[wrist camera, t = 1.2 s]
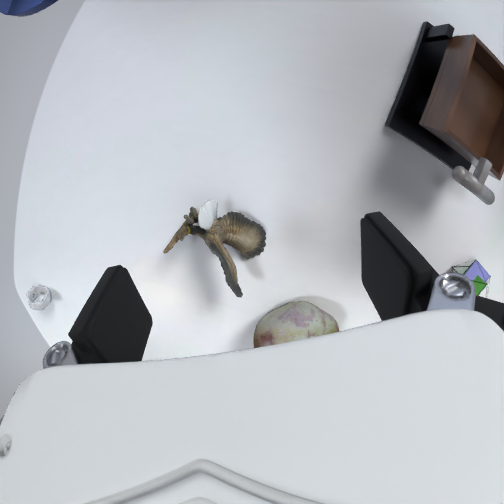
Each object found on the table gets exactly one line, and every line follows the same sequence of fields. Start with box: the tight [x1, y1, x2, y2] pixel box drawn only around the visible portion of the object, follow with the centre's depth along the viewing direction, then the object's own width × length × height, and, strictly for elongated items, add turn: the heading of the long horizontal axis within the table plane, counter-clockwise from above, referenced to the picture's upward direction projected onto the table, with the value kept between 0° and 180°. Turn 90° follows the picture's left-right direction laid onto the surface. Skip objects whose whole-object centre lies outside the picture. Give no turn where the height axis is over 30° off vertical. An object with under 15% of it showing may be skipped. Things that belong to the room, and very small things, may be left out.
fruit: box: [253, 301, 339, 348], centre depth 32 cm, size 10×9×12 cm
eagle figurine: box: [164, 200, 266, 297], centre depth 29 cm, size 8×7×9 cm
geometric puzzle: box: [451, 259, 491, 296], centre depth 33 cm, size 7×7×8 cm
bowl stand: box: [385, 22, 471, 171], centre depth 22 cm, size 14×13×5 cm
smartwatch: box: [26, 286, 51, 310], centre depth 33 cm, size 4×2×4 cm, turn 77°
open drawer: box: [419, 35, 504, 205], centre depth 19 cm, size 14×10×6 cm
